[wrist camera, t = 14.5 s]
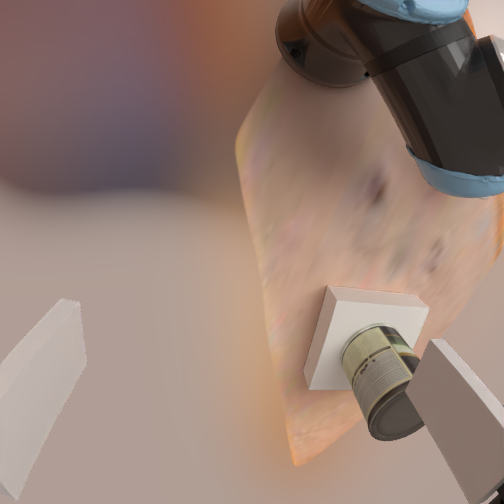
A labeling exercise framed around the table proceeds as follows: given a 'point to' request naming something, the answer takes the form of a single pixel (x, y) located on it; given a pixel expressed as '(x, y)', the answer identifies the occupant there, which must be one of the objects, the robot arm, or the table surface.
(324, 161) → the table surface
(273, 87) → the table surface
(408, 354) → the coffee can
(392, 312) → the base
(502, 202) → the table surface
